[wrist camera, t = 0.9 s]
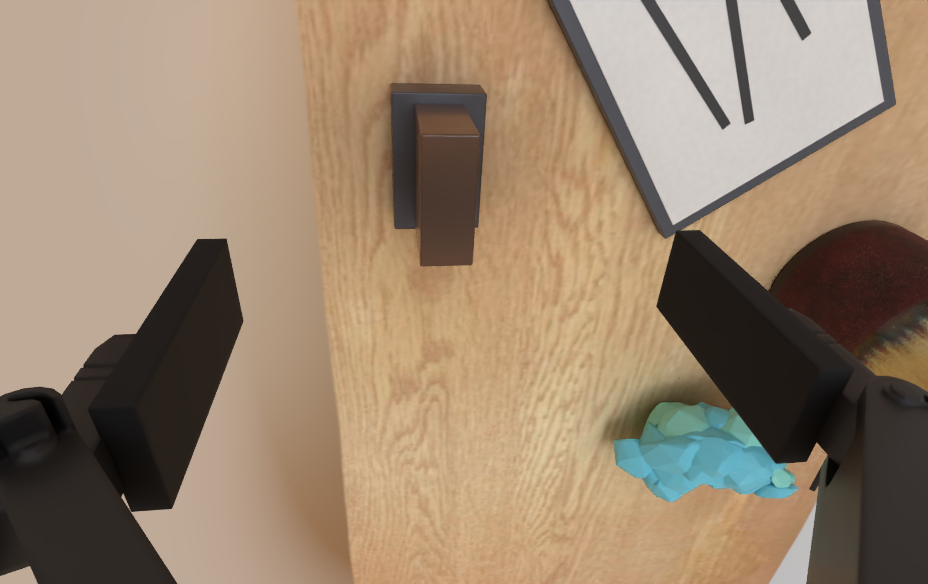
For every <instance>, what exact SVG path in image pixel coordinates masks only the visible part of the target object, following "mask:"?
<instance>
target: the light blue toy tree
mask: <svg viewBox="0 0 928 584" xmlns="http://www.w3.org/2000/svg"><path fill="white" fill-rule="evenodd" d="M679 379H680V377H679ZM613 443H614V451H615V459H616V465H617V466H618V467H620V468H621V469H623V470H624V471H626V472H627V473H629V474H631V475H632V476H634V477H636V478H642V480H643V481H644V483H645V484H646V486H647V488H648V489H649V490H650V491H652V492H653V494H654V495H656V496H657V497H660V498H662V499H664V500H666V501H668V502H674V501H676V500H678V499H679V498H680V497H681V496H682V495H683V494H685V493H687V492H689V491H691V490H693V489H694V488H696V487H697V486H699V485H701V484H707V485H709V486H711V487H713V488H714V489H729V488H731V489H733V490H734V491H736V492H738V493H739V494H750V493H753V492H754V493H755V494H756V495H757V496H759V497H763V498H786V497H788V496H790V495H791V494H793V493H794V492H796V491H797V490H798V487H797V486H795V485H794V482H795V478H796V477H795V476H794V475H793V474H792V473H791V472H790V471H788V470H786V468H787V463H782V464H775V462H774V461H773V460H772V458H771V457H770V456H769V454H768V453H767V452H766V450H765V449H764V448H763V446H762V445H761V444H760V442H759V441H758V440H757V438H756V437H755V436H754V435H753V433H752V432H751V431H750V429H749V428H748V427H747V425H746V424H745V423H744V421H743V420H742V419H741V417H740V416H739V415H738V413H737V412H736V411H735V409H734V408H733V407H731V408H730V409H729V410H726V409H723V408H720V407H717V406H716V407H715V406H714V407H713V406H711V405H708V404H706V403H703V402H699V403H698V404H696V405H691V406H689V405H686V404H683V403H680V402H661V403H660V404H658V405H657V406H656V407H655V408H654V409H653V411H652V412H651V414H650V415H649V417H648V419H647V422H646V424H645V427H644V429H643V434H642V436H641V438H640V439H619V440H614V442H613Z"/></svg>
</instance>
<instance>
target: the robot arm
mask: <svg viewBox="0 0 928 584" xmlns="http://www.w3.org/2000/svg"><path fill="white" fill-rule="evenodd" d="M656 307H657V308H658V309H659V311H660V312H661V313H662V315H663V316H664V317H665V319H666V320H667V321H668V323H669V324H670V325H671V326H672V328H673V329H674V330H675V332H676V333H677V334H678V336H679V337H680V338H681V340H682V341H683V342H684V344H685V345H686V346H687V348H688V349H689V350H690V351H691V353H692V354H693V355H694V357H695V358H696V359H697V361H698V362H699V363H700V365H701V366H702V367H703V369H704V370H705V371H706V373H707V374H708V375H709V377H710V378H711V379H712V380H713V382H714V383H715V384H716V386H717V387H718V388H719V390H720V391H721V392H722V394H723V395H724V396H725V398H726V399H727V400H728V402H729V403H730V404H731V406H732V407H733V408H734V409H735V411H736V412H737V413H738V415H739V416H740V417H741V419H742V420H743V421H744V423H745V424H746V425H747V427H748V428H749V429H750V431H751V432H752V433H753V435H754V436H755V437H756V438H757V440H758V441H759V442H760V444H761V445H762V446H763V448H764V449H765V450H766V452H767V453H768V454H769V456H770V457H771V458H772V460H773V461H774V462H775V464H782V463H795V462H806V461H807V460H808V458H809V456H810V454H811V452H812V450H813V448H814V446H815V444H816V442H817V443H818V444H819V445H820V446H821V448H822V449H823V450H824V451H825V452H826V453H827V454H828V455H827V457H826V459H825V461H824V463H823V465H822V466H821V468H820V470H819V472H818V474H817V476H816V477H815V479H814V481H813V483H812V485H811V487H810V488H809V489H810V490H812V491H815V490H816V488H817V487H818V486H819V489H818V497H817V505H816V513H815V521H814V528H813V537H812V545H811V551H810V559H809V567H808V575H807V583H806V584H928V392H927V391H925V390H924V389H922V388H921V387H919V386H917V385H915V384H913V383H911V382H908V381H906V380H903V379H900V378H896V377H891V376H876V375H875V374H874V373H873V372H872V371H871V370H869V369H868V368H867V367H866V366H865V365H864V364H863V363H861V362H860V361H859V360H858V359H857V358H856V357H854V356H853V355H852V354H851V353H850V352H849V351H848V350H846V349H845V348H844V347H843V346H842V345H841V344H837V341H836V340H835V339H834V338H833V337H831V336H830V335H829V334H826V333H825V332H826V331H825V330H823V329H822V328H821V327H820V326H819V325H818V324H816V323H815V322H814V321H813V320H812V319H810V318H809V317H807V316H805V315H803V314H801V313H799V312H797V311H796V310H794V309H792V308H786V307H785V306H784V305H783V304H782V303H781V302H780V301H778V300H777V299H776V298H775V297H774V296H773V295H772V294H771V293H770V292H768V291H767V290H766V289H765V288H764V287H763V286H762V285H761V284H759V283H758V282H757V281H756V280H755V279H754V278H753V277H752V276H750V275H749V274H748V273H747V272H746V271H745V270H744V269H743V268H742V267H740V266H739V265H738V264H737V263H736V262H735V261H734V260H733V259H731V258H730V257H729V256H728V255H727V254H726V253H725V252H724V251H722V250H721V249H720V248H719V247H718V246H717V245H716V244H715V243H714V242H712V241H711V240H710V239H709V238H708V237H707V236H706V235H705V234H703V233H702V232H701V231H700V230H686V231H676V233H675V237H674V241H673V245H672V249H671V253H670V256H669V260H668V264H667V268H666V272H665V275H664V279H663V283H662V287H661V291H660V294H659V298H658V302H657V306H656ZM242 323H243V317H242V312H241V307H240V302H239V298H238V293H237V288H236V283H235V278H234V273H233V268H232V263H231V258H230V253H229V249H228V244H227V239H197V241H196V242H195V244H194V245H193V247H192V248H191V250H190V252H189V253H188V254H187V256H186V257H185V259H184V261H183V262H182V264H181V265H180V267H179V268H178V270H177V271H176V273H175V274H174V276H173V278H172V279H171V281H170V282H169V284H168V285H167V287H166V288H165V290H164V291H163V293H162V295H161V296H160V298H159V299H158V301H157V303H156V304H155V305H154V307H153V309H152V310H151V312H150V313H149V315H148V316H147V318H146V319H145V321H144V322H143V324H142V326H141V327H140V329H139V330H138V332H137V333H136V334H125V335H124V334H123V335H114V336H112V337H111V338H109V339H108V340H107V341H105V342H104V343H103V344H101V345H100V346H99V347H97V348H96V349H95V350H94V351H93V352H92V354H91V355H90V357H89V358H88V359H87V361H86V362H85V363H84V367H83V368H81V369H80V370H79V372H78V373H77V374H76V376H75V377H74V381H71V383H70V384H69V385H68V387H67V388H66V390H65V391H64V392H63V394H62V395H61V394H60V393H58V392H57V391H55V390H54V389H51V388H44V387H33V388H24V389H20V390H17V391H14V392H10V393H7V394H4V395H2V396H0V576H1V575H4V574H7V573H10V572H13V571H16V570H19V569H22V568H25V567H28V566H30V567H31V569H32V571H33V573H34V576H35V578H36V580H37V582H38V584H177V582H176V581H175V579H174V578H173V576H172V575H171V573H170V572H169V570H168V569H167V567H166V565H165V564H164V562H163V561H162V559H161V558H160V556H159V555H158V553H157V552H156V550H155V549H154V547H153V546H152V544H151V542H150V541H149V540H148V538H147V537H146V535H145V533H144V532H143V530H142V529H141V527H140V526H139V524H138V523H137V521H136V520H135V518H134V516H133V515H132V513H131V512H135V511H147V510H148V511H149V510H162V509H172V507H173V505H174V502H175V500H176V497H177V494H178V492H179V489H180V486H181V484H182V481H183V479H184V475H185V473H186V471H187V468H188V465H189V463H190V460H191V458H192V455H193V452H194V450H195V447H196V444H197V442H198V439H199V437H200V434H201V431H202V429H203V426H204V423H205V421H206V418H207V416H208V413H209V410H210V407H211V405H212V402H213V400H214V397H215V394H216V392H217V389H218V387H219V384H220V381H221V379H222V376H223V373H224V371H225V368H226V365H227V363H228V360H229V357H230V355H231V352H232V349H233V347H234V345H235V342H236V339H237V337H238V334H239V331H240V329H241V326H242ZM123 493H124V496H125V498H126V500H127V503H128V505H129V507H130V510H131V512H130V510H129V509H128V507H127V506H126V504H125V503H124V501H123V499H122V498H121V497H122V494H123Z"/></svg>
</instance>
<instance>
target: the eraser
mask: <svg viewBox="0 0 928 584" xmlns="http://www.w3.org/2000/svg"><path fill="white" fill-rule="evenodd" d="M486 99H487V94H486V93H485V91H484V90H483V88H482V87H481V86H480V85H455V84H404V83H392V84H391V126H392V167H393V209H394V228H395V229H416V236H417V244H418V252H419V260H420V265H421V266H458V265H472V264H473V250H474V233H475V228H478V223H479V207H480V192H481V176H482V161H483V145H484V130H485V114H486Z"/></svg>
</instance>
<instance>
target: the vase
mask: <svg viewBox="0 0 928 584" xmlns="http://www.w3.org/2000/svg"><path fill="white" fill-rule="evenodd" d="M770 293H771V294H772V295H773V296H774V297H775V298H776V299H777V300H778V301H780V302H781V303H782V304H783V305H784V306H785V307H786V308H792V309H794V310H796V311H797V312H799V313H801V314H803V315H805V316H807V317H809V318H810V319H812V320H813V321H814V322H815V323H816V324H818V325H819V326H820V327H821V328H822V329H823V330H825V331H826V332H825V333H826V334H829V335H830V336H831V337H833V338H834V339H835V340H836V341H837V344H841V345H842V346H843V347H844V348H845V349H846V350H848V351H849V352H850V353H851V354H852V355H853V356H854V357H856V358H857V359H858V360H859V361H860V362H861V363H863V364H864V365H865V366H866V367H867V368H868V369H869V370H871V371H872V372H873V373H874V374H875V375H876V376H891V377H896V378H900V379H903V380H906V381H908V382H911V383H913V384H915V385H917V386H919V387H921V388H922V389H924V390H925V391H927V392H928V241H927V240H925V239H923V238H921V237H919V236H918V235H916V234H914V233H912V232H910V231H908V230H906V229H904V228H903V227H901V226H899V225H896V224H892V223H888V222H885V221H864V222H858V223H854V224H849V225H846V226H844V227H841V228H838V229H835V230H833V231H831V232H829V233H827V234H825V235H823V236H822V237H820V238H818V239H817V240H815V241H814V242H812V243H811V244H809V245H808V246H807V247H805V248H804V249H803V250H802V251H800V252H799V253H798V254H797V255H796V256H795V257H794V258H793V259H792V260H791V261H790V262H789V263H788V264H787V265H786V267H785V268H784V269H783V270H782V271H781V273H780V274H779V276H778V277H777V279H776V280H775V282H774V283H773V286H772V288H771V290H770Z"/></svg>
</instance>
